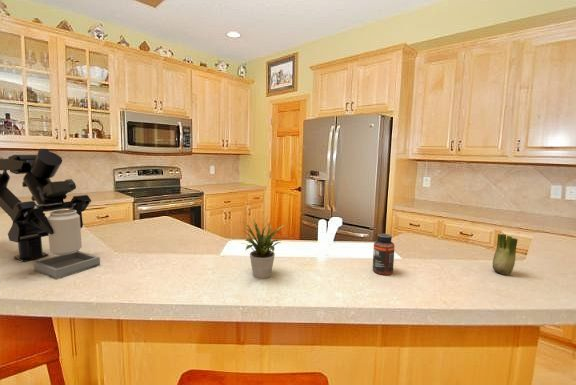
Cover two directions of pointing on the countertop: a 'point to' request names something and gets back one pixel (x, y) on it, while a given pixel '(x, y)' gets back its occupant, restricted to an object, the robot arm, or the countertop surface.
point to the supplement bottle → (383, 255)
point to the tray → (66, 264)
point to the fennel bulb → (505, 254)
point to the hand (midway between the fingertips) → (67, 230)
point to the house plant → (262, 252)
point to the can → (64, 232)
